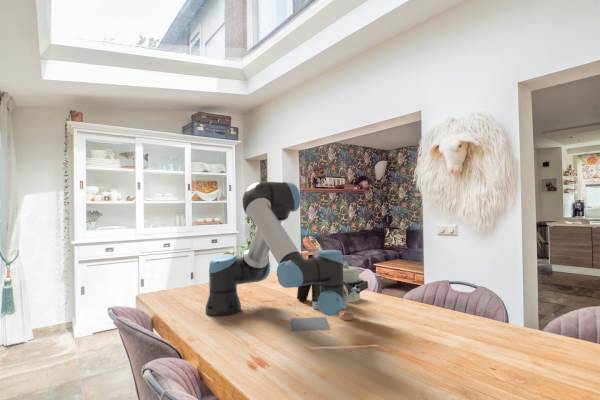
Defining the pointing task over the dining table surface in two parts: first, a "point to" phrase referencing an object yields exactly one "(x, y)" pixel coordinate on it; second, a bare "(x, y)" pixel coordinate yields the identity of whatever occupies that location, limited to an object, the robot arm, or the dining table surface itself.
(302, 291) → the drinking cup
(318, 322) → the plate
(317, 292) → the tea box
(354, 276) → the ribbed plastic canister
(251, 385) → the dining table surface
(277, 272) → the robot arm
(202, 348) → the dining table surface
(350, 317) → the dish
